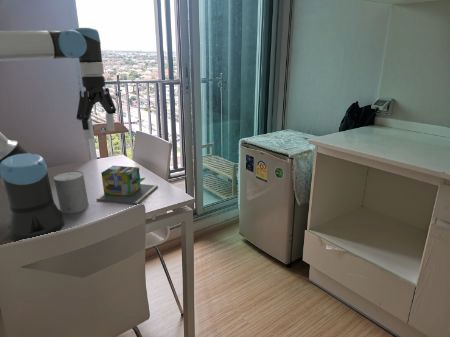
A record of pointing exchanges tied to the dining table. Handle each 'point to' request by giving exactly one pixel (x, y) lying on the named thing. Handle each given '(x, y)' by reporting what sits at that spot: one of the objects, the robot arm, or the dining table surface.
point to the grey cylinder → (71, 191)
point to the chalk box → (121, 180)
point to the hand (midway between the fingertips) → (100, 134)
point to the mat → (133, 199)
